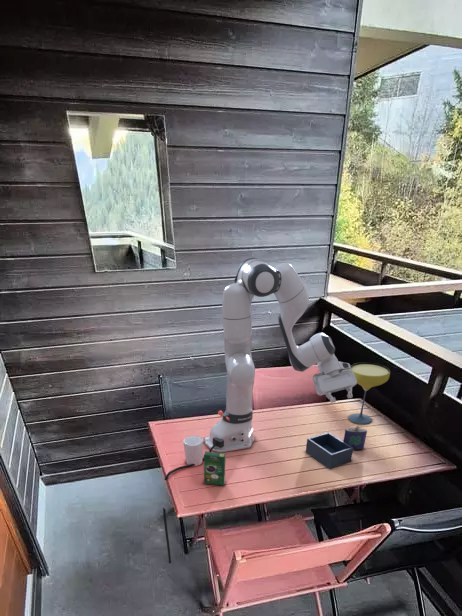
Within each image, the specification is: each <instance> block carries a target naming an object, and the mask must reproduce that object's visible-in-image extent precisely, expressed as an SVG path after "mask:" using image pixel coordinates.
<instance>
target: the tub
mask: <svg viewBox="0 0 462 616" xmlns="http://www.w3.org/2000/svg"><path fill="white" fill-rule="evenodd" d="M305 453H306V454H308V455H309V456H310V457H312V458H313V459H315V460H316V461H317V462H320V463H321V464H322V465H323V466H325V467H326V468H327V469H329V470H331V469H333V468H336V467H340V466H341V465H345V464H348V463H351V462H352V458H353V454H354V450H353V447H351V446H350V445H348V444H346V443H345V442H343V440H341V439H340V438H339V437H337V436H336V435H334V434H332V433H331V432H325V433H321V434H318V435H314V436H312V437H311V436H310V437H307V438H306V447H305Z"/></svg>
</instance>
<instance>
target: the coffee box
mask: <svg viewBox="0 0 462 616" xmlns="http://www.w3.org/2000/svg"><path fill="white" fill-rule="evenodd" d="M226 456H227V455H226V453H225V452H221V453H219V452H215V451H212V452H209V451H205V452H204V453H203V458H204V461H203V483H204V484H205V485H213V486H214V485H215V486H223V487H224V486H225V482H226Z"/></svg>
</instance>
